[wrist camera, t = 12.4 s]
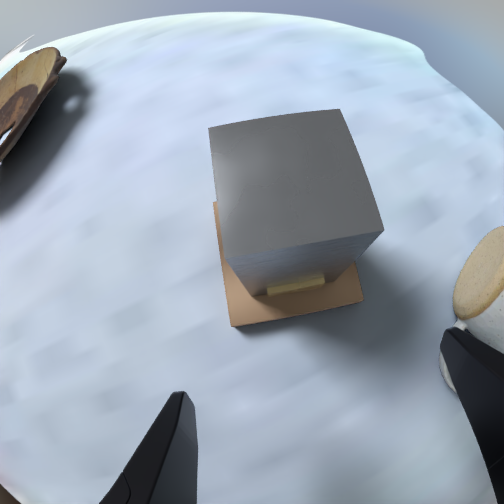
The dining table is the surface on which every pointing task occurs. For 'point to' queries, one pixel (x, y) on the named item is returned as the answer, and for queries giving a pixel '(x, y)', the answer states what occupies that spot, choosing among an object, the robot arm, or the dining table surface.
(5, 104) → the oil lamp
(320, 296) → the post base
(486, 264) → the ceramic mug
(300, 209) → the grey cardboard box
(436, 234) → the dining table surface
